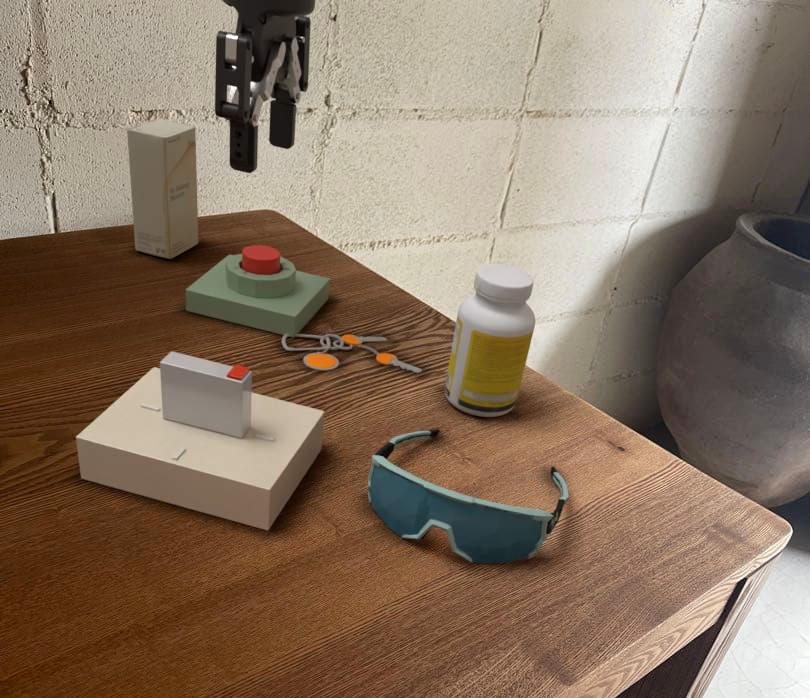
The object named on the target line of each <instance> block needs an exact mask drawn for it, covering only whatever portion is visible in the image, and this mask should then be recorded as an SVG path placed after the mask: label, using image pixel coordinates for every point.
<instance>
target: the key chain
mask: <svg viewBox="0 0 810 698" xmlns="http://www.w3.org/2000/svg"><path fill="white" fill-rule="evenodd" d="M288 338H291V337H290V335H289V334H284V335H282V338H281V345H282V347H283V349H284V350H285V351H287V352H295V351H316V352H311V353H308V354H306V355H305V356H304V357H303V359H302V361H303V364H304V365H305V366H306V367H307V368H309V369H312V370H315V371H319V372H321V371H322V372H323V371H324V372H327V371H333V370H334V369H337V368H338V367H339V365H340V362H339V359H338V358H337V357H336V356H334V355H332V354H329V353H327V352H328V351H339V350H341V351H350V350H352V349H354V348H359V349H364V350H367V351H369V352H372V353H373V354H375V355H376V357H375V360H376V362H377V363H379V364H382V365H384V366H393V367H399V368H400V369H402V370H406V371H411V372H412V373H413V374H421V373H422V371H423V369H422V368H420V367H417V366H414V365H412V364H409V363H406V362H403V361H401V360H399V359H398V356H397V355H395V354H392V353H388V352H384V353H383V352H381V353H379V352H378V351H377V350H376V349H374V348H372V347H370V346H368V345H364V344H363V343H383V342H384V343H386V342H388V338H387V337H384V336H370V335H367V336H361V335H359V336H357V335H356V334H350V333H349V334H344V335H342V336H340V335H338V334H334V333H327V334H324V335H317V334H306V333H298V334H295V337H294V338H307V339H316V340H319V344H320V345H321V346H319V347H303V348H301V347H300V348H295V347H289V346H288V345H287V339H288ZM330 338H332V339H337V340H334V341H333V342H332V344H333V346H332V345H331V339H330ZM324 341H325V342H326V343H324ZM338 344H339V345H338ZM344 345H345V346H344Z"/></svg>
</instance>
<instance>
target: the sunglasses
mask: <svg viewBox="0 0 810 698" xmlns="http://www.w3.org/2000/svg"><path fill="white" fill-rule="evenodd" d="M440 432H441V430H440V429H439V428H436V429H430V430H418V431H413V432H408V433H403V434H399V435H397V436H394V437H391V438H390V440H389V441H388V442H387V443H386V444H384V445H383V446H382V447H381V448H380V449H378V451H376V452H375V454H371V462H370V466H369V470H368V476H367V482H368V483H367V484H368V488H367V498H368V504H370V506H371V507H372V510H373V511H374V512H375V513H376V514H377V516H378V517H379V518H380V519H381V520H382V522H383V523H384V524H385V525H386V526H387V527H388V528H389V530H392V532H393V533H395V534H397V535H398V536H399V537H400V538H401V539H407V540H408V539H409V540H418V541H419V540H423V539H424V538H425V537H426V536H427V535H428V534H429V533H430V531H431V530H432V529H433V528H437V529H440V530H442V531H443V532H445V534H446V537H447V539H448V542H449V545H450V548H451V551H452V552H453V553H454V554H457V555H458V556H460V557H461V558H463V559H464V560H466V561H468V563H471V564H472V563H474V564H478V563H479V564H507V563H511V562H516V561H520V560H524V559H528V560H530V559H531V558H532V557H533V556H534V555H535V554H536V553H537V552H538V551H539V550H541V548H542V545H543V543H544V542H545V541H547V540H548V536H549V535H551V533H552V532H553V530H554V529H555V527H556V525H557V524H558V522H559V520H560V518H561V514H562V513H563V509H564V506H565V505H566V503H567V502H568V499H569V497H570V496H569V490H568V484H567V483H566V481H565V480H564V478H563V476H562V475H561V474H560V473H559V472H558V471H557V468H556V467H555V466H551V467H550V473H549V474H550V476H551V478H552V480H553V481H554V482H555V484H556V485H557V487H558V489H559V491H560V495H561V497H559V498H558V501H557V504H556V507H555V509H554V510H553V512H547V511H545V510H542V509H540V508H532V507H524V506H516V505H510V504H505V503H500V502H494V501H490V500H487V499H483V498H482V499H481V498H478V497H474V496H472V495H467V494H464V493H460V492H457V491H454V490H451V489H448V488H445V487H442V486H439V485H437V484H436V483H432V482H430V481H427V480H424V479H422V478H420V477H418V476H416V475H414V474H413V473H410V472H409V471H407V470H405V469H402V468H401V467H399V466H397V465H395V464H394V463H392V462H391V461H389V460H387V459H388V458H389V457H390V455H391V454H393V452H394V451H395V449H396V448H397V447H398V446H401V445H403V444H406V443H410V442H413V441H420V440H425V439H433V438H437V437H438V435H439V434H440Z"/></svg>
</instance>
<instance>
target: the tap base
mask: <svg viewBox="0 0 810 698" xmlns="http://www.w3.org/2000/svg"><path fill="white" fill-rule="evenodd" d="M324 424H325V410H322V409H318V408H314V407H310V406H307V405H302V404H299V403H294V402H290V401H287V400H284V399H280V398H275V397H272V396H268V395H264V394H259V393H256V392H252V402H251V427H250V428H249V429H248V431H247V432H246V433H245V434H244V436H243V437H242V438H238V437H234V436H230V435H226V434H222V433H219V432H215V431H211V430H207V429H203V428H199V427H195V426H191V425H187V424H184V423H180V422H176V421H172V420H168V419H164V418H163V413H162V394H161V375H160V367H155V366H153V367H152V368H151V369H150V370H149V371H147V372H146V373H145V374H144V375H143V376H142V377H141V378H139V380H137V382H135V383H134V384H133V385H132V386H131V387H130V388H129V389H128V390H126V391H125V392H124V393H123V394H122V395H121V396H119V398H118V399H116V400H115V401H114V402H113V403H112V404H110V405H109V406H108V407H107V408H106V409H105V410H104V411H103V412H102V413H100V415H98V416H97V417H96V418H95V419H94V420H93V421H91V423H89V425H87V426H86V427H85V428H84V429H82V431H81V432H80V433H78V434H77V435H76V436H75V443H76V450H77V456H78V457H77V458H78V465H79V466H78V467H79V472H80V479H82V480H86V481H89V482H91V483H96V484H99V485H103V486H107V487H109V488H114V489H117V490H121V491H124V492H128V493H130V494H131V493H132V494H135V495H139V496H142V497H146V498H149V499H153V500H157V501H160V502H163V503H167V504H171V505H174V506H178V507H180V508H181V507H182V508H185V509H189V510H193V511H196V512H200V513H203V514H207V515H211V516H214V517H218V518H221V519H225V520H229V521H232V522H234V523H235V522H236V523H238V524H243V525H246V526H249V527H254V528H256V529H257V528H258V529H260V530H264V531H269V530H270V529H271V527H272V525H274V522H276V519H277V518H278V516H279V515H280V514H281V512H282V510H283V509H284V507H285V506H286V504H287V503H288V501H289V500H290V498H291V497H292V495H293V494H294V492H295V491H296V489H297V487H298V486H299V484H300V483H301V481H302V480H303V478H305V476H306V474H307V472H308V471H309V469H311V466H312V465H313V463H314V461H315V460H316V459H317V457H318V455H319V454H320V452H321V451H322V450H323V449H322V447H323V438H324V437H323V436H324Z"/></svg>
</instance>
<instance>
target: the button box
mask: <svg viewBox="0 0 810 698" xmlns="http://www.w3.org/2000/svg"><path fill="white" fill-rule="evenodd" d="M330 287H331V278H330V277H326V276H321V275H315V274H313V273H308V272H304V271H300V270H296V267H295V264H294V263H293V262H291V261H290V260H288V259H287V258H284V257H283V256H282V255H280V272H279V273H276V274H272V275H257V274H253V273H249V272H246V271H244V270H243V269H242V253H238V254H228V255H227V256H225V257H224V258H223V259H222V260H220V261H219V262H218V263H217V264H215V265H214V266H213V267H212V268H210V269H209V270H208V271H207V272H205V273H204V274H202V276H200V277H199V278H198V279H197V280H196V281H194V282H193V283H191V285H190V284H189V286H188V287H187V288H185V311H186V312H189V313H194V314H198V315H201V316H205V317H210V318H212V319H217V320H221V321H225V322H229V323H233V324H237V325H240V326H245V327H249V328H253V329H257V330H262V331H265V332H269V333H273V334H277V335H281V336H284V334H289V335H290V337H289V338H296V337H295V334H300V332H301V331H302V330H303V328H304V327H305V326H306V325H307V324H309V321H310V320H312V319H313V318H314V316H315V315H316V314H317V312H319V310H320V309H321V308H322V307H323V306H324V305H325V303H326V302H327V301H328V300H329V299H330Z"/></svg>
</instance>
